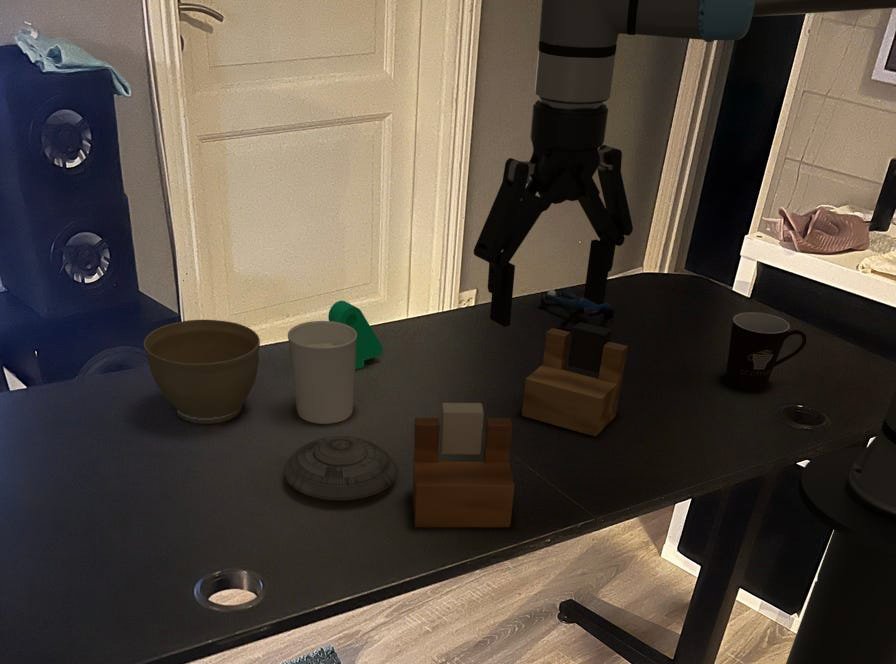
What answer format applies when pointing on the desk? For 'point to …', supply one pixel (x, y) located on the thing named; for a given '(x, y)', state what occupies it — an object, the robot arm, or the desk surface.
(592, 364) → the black block
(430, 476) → the near stand
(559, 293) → the person figurine
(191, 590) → the desk surface
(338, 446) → the flying saucer
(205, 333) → the planter bowl
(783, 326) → the coffee mug
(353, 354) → the white tumbler cup
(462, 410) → the ivory key
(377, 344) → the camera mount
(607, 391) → the far stand
